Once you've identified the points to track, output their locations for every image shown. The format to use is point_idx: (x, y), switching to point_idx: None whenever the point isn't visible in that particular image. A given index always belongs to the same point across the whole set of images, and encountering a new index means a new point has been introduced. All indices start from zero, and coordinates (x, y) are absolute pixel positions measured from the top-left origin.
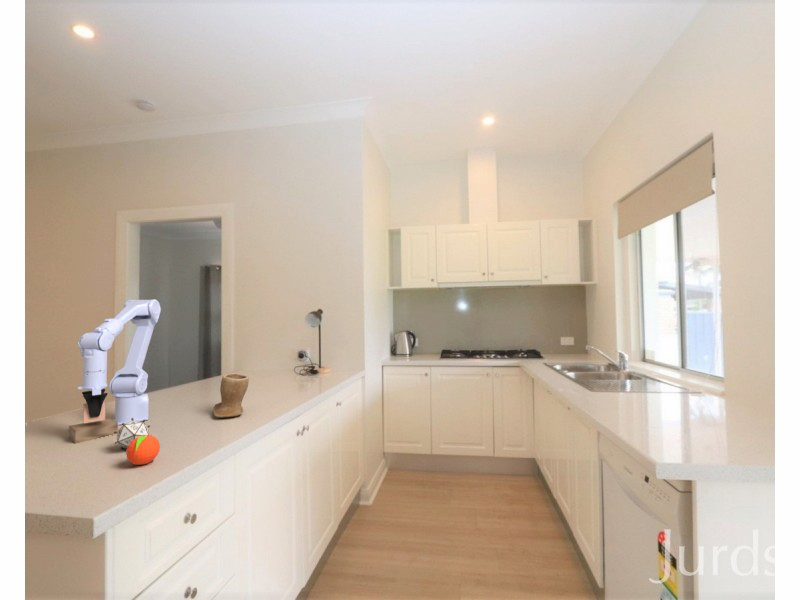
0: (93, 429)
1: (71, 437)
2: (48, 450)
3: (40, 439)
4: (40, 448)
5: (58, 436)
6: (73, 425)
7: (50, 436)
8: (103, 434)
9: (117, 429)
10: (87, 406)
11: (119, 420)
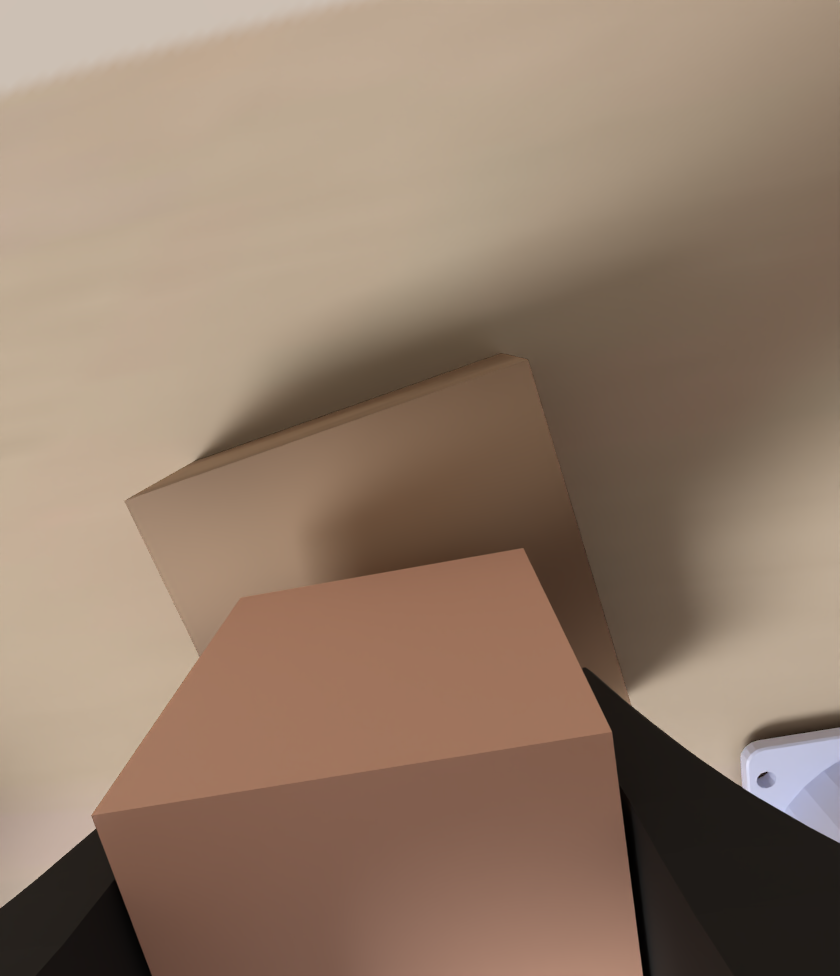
0: None
1: (371, 402)
2: (47, 240)
3: (671, 15)
4: (187, 128)
5: (677, 216)
6: (510, 416)
7: (754, 112)
8: None
9: None
10: (116, 872)
11: (821, 803)
